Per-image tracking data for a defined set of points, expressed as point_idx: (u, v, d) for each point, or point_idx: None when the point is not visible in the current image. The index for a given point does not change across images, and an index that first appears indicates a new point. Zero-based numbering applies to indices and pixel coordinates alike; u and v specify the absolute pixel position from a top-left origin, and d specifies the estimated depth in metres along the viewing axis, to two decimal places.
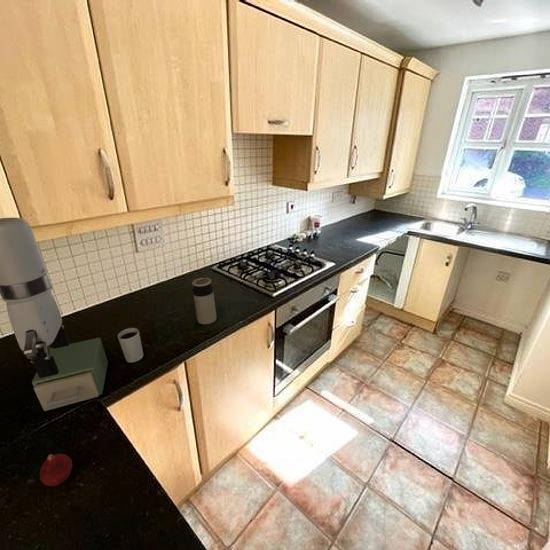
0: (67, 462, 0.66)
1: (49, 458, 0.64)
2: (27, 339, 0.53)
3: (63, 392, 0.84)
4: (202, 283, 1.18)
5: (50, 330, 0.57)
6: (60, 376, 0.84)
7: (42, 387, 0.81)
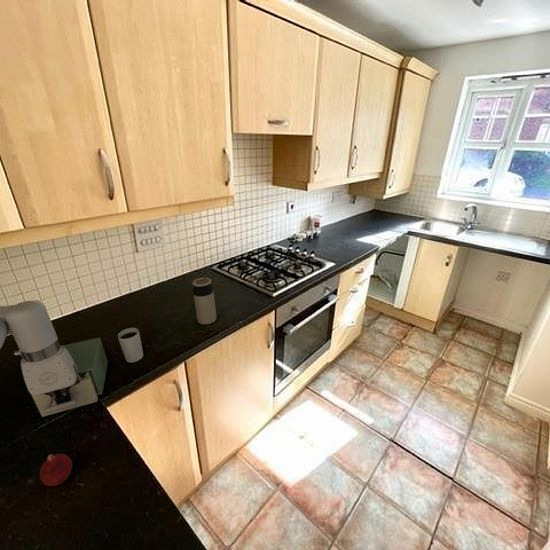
0: (67, 462, 0.66)
1: (49, 458, 0.64)
2: (75, 374, 0.79)
3: None
4: (202, 283, 1.18)
5: None
6: None
7: None
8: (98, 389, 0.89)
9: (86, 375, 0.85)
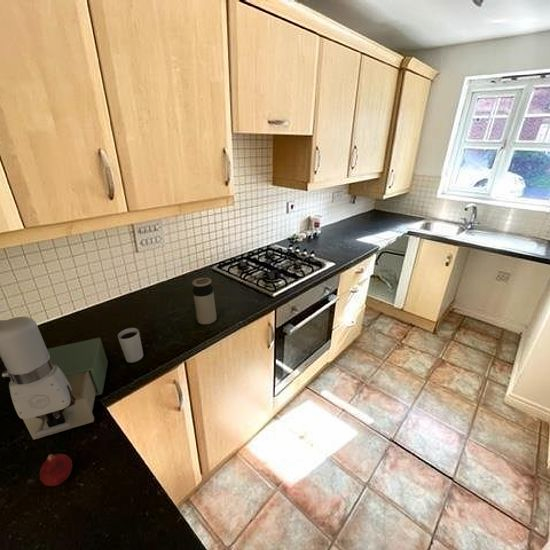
0: (67, 462, 0.66)
1: (49, 458, 0.64)
2: (69, 395, 0.73)
3: None
4: (202, 283, 1.18)
5: None
6: None
7: None
8: (98, 389, 0.89)
9: (81, 393, 0.79)
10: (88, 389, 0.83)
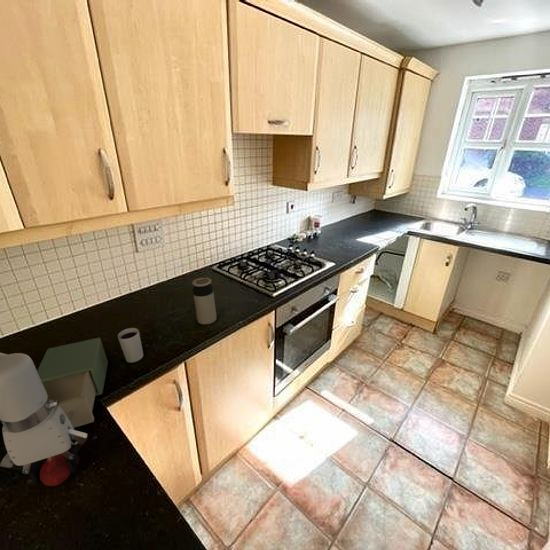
0: None
1: (49, 458, 0.64)
2: (8, 452, 0.61)
3: None
4: (202, 283, 1.18)
5: (20, 457, 0.59)
6: (60, 376, 0.84)
7: None
8: (98, 389, 0.89)
9: (81, 394, 0.79)
10: (88, 389, 0.83)
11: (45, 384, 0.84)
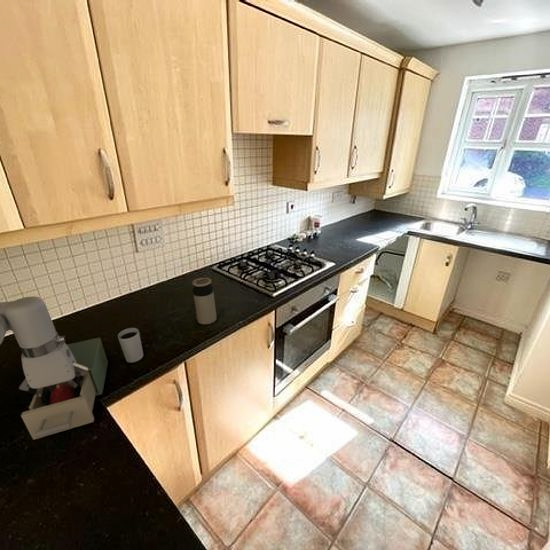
0: None
1: (57, 386, 0.79)
2: (25, 378, 0.76)
3: (54, 419, 0.76)
4: (202, 283, 1.18)
5: (35, 381, 0.75)
6: None
7: (30, 414, 0.73)
8: (98, 389, 0.89)
9: (81, 394, 0.79)
10: (88, 389, 0.83)
11: None
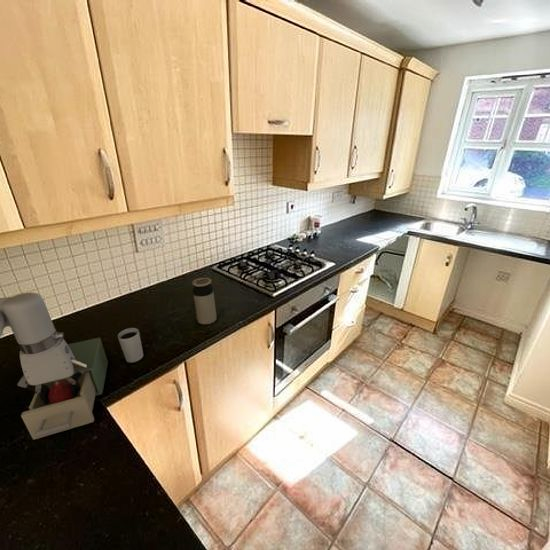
0: None
1: (56, 383, 0.79)
2: None
3: (54, 419, 0.76)
4: (202, 283, 1.18)
5: (33, 377, 0.74)
6: None
7: (30, 414, 0.73)
8: (98, 389, 0.89)
9: (81, 394, 0.79)
10: (88, 389, 0.83)
11: (45, 384, 0.84)
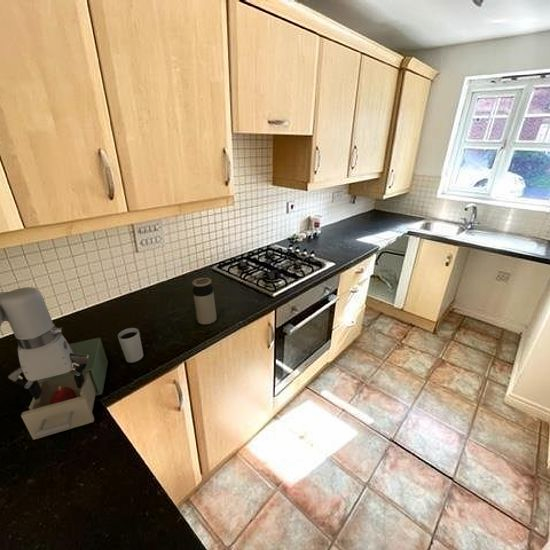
0: (73, 394, 0.81)
1: (59, 388, 0.79)
2: (18, 368, 0.74)
3: (54, 419, 0.76)
4: (202, 283, 1.18)
5: (32, 373, 0.74)
6: (60, 376, 0.84)
7: (30, 414, 0.73)
8: (98, 389, 0.89)
9: (81, 394, 0.79)
10: (88, 389, 0.83)
11: (45, 384, 0.84)
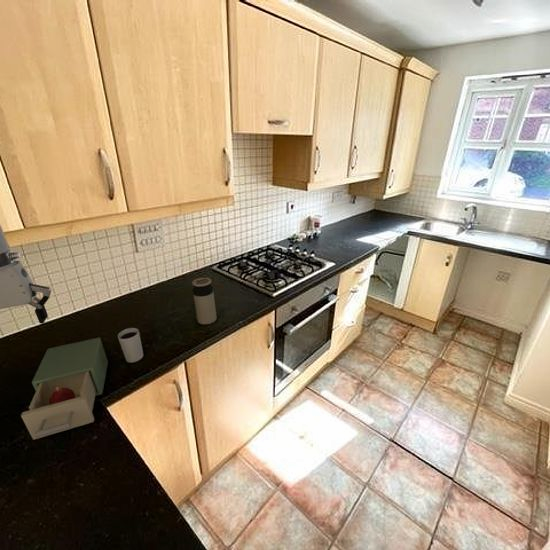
0: (71, 394, 0.81)
1: (57, 389, 0.79)
2: None
3: (54, 419, 0.76)
4: (202, 283, 1.18)
5: None
6: (60, 376, 0.84)
7: (30, 414, 0.73)
8: (98, 389, 0.89)
9: (81, 394, 0.79)
10: (88, 389, 0.83)
11: (45, 384, 0.84)
